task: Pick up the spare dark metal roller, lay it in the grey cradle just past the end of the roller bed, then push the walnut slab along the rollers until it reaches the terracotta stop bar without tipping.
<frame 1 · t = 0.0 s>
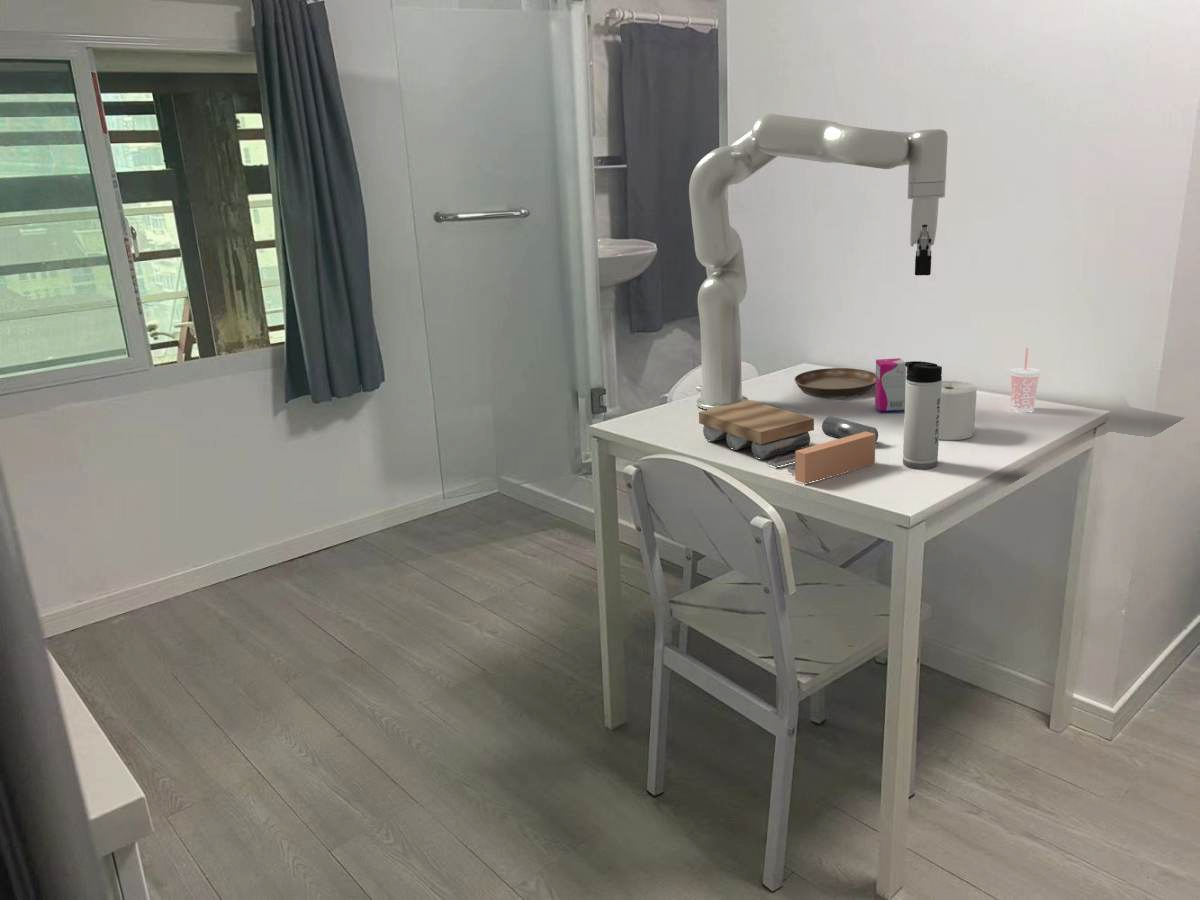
hand: (922, 272, 201), 31 cm above the table, tool pointing down, fingers open, 9 cm apart
rear roller: (730, 426, 199), point 2 cm above the table, hinge at 0.0°, touching slab
middle roller: (755, 434, 193), point 2 cm above the table, hinge at 0.0°, touching slab
slab: (755, 426, 192), point 4 cm above the table, touching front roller, middle roller, rear roller
toilet tissue: (943, 434, 193), on the table
stop bar: (835, 472, 174), on the table
supplement box: (889, 410, 212), on the table
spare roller: (849, 440, 193), on the table
cradle: (808, 463, 180), on the table
plant saucer: (835, 390, 233), on the table
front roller: (781, 443, 186), point 2 cm above the table, hinge at 0.0°, touching slab
beverage cup: (1022, 410, 205), on the table
travel mug: (919, 465, 176), on the table
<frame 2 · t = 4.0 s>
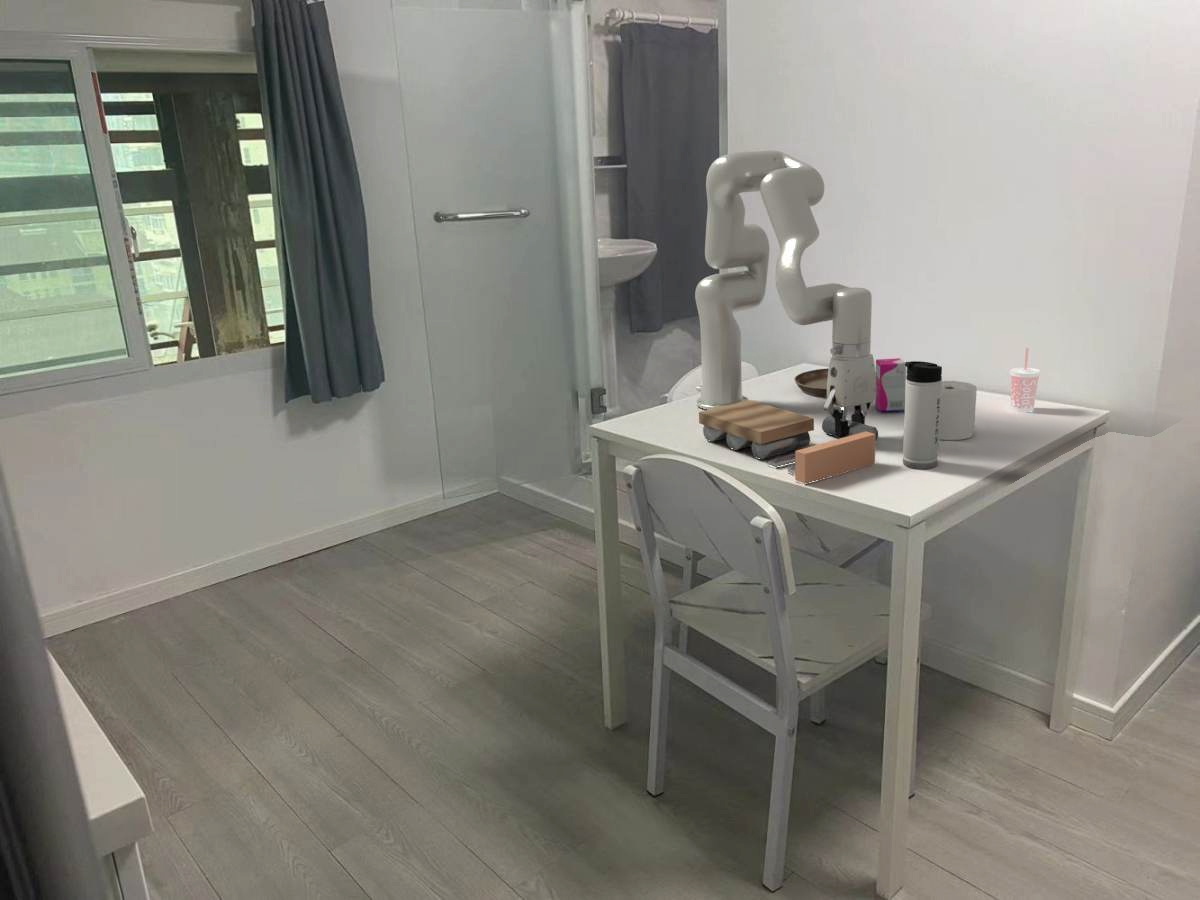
hand: (849, 434, 193), 1 cm above the table, tool pointing down, fingers closed on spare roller, 4 cm apart
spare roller: (849, 439, 193), on the table, touching gripper
everything else where it was.
when the fingers open (2 cm above the table, at t = 9.3 s): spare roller stays where it is, resting on cradle.
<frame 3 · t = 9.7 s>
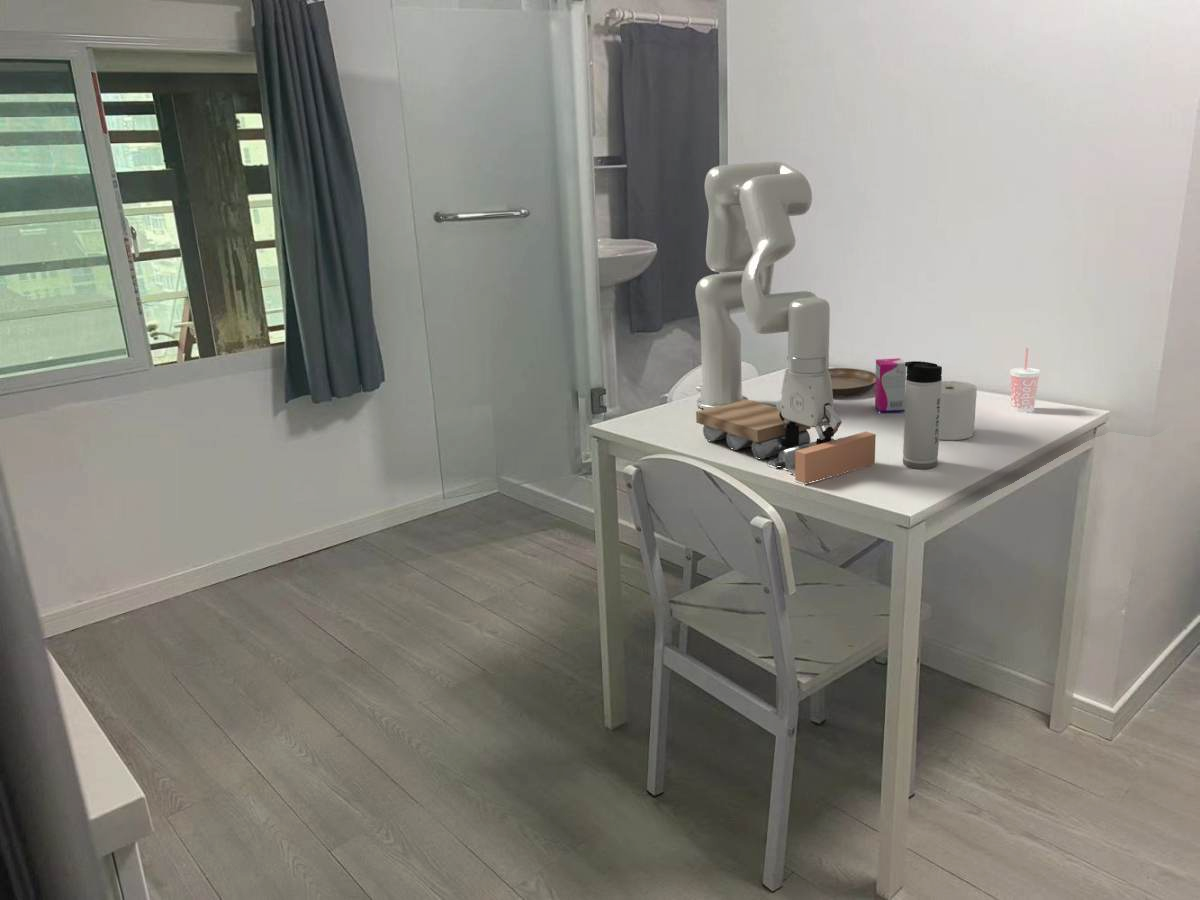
hand: (807, 451, 180), 2 cm above the table, tool pointing down, fingers open, 8 cm apart
rear roller: (730, 426, 199), point 2 cm above the table, hinge at 0.8°, touching slab
middle roller: (755, 434, 193), point 2 cm above the table, hinge at 0.7°, touching slab
slab: (752, 425, 193), point 4 cm above the table, touching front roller, gripper, middle roller, rear roller
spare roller: (808, 463, 180), on the table, tilted 6°, touching cradle
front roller: (781, 443, 186), point 2 cm above the table, hinge at 0.7°, touching slab
everything else where it was.
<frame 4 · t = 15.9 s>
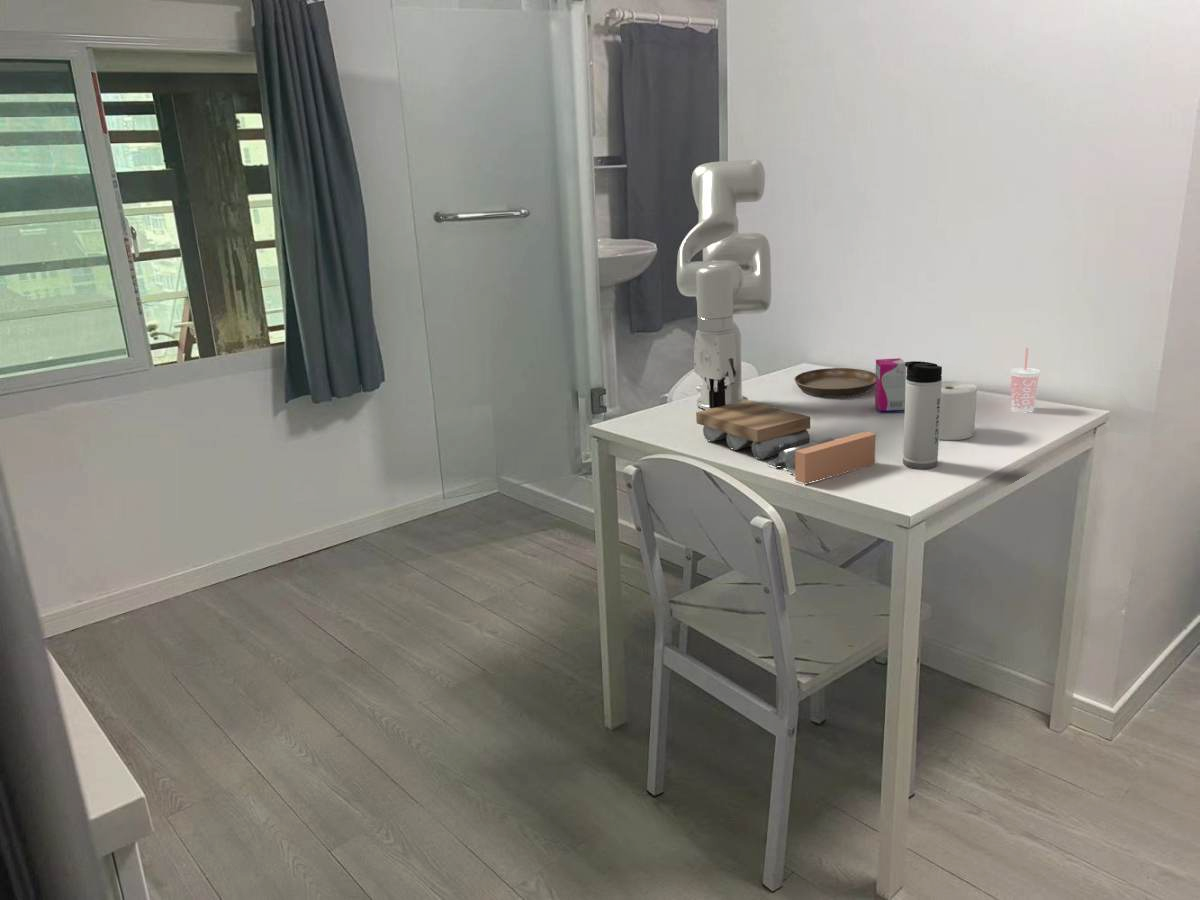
hand: (717, 407, 202), 6 cm above the table, tool pointing down, fingers closed
rear roller: (730, 426, 199), point 2 cm above the table, hinge at -0.1°, touching slab
middle roller: (755, 434, 193), point 2 cm above the table, hinge at 0.4°, touching slab
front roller: (781, 443, 186), point 2 cm above the table, hinge at 1.0°, touching slab
everything else where it was.
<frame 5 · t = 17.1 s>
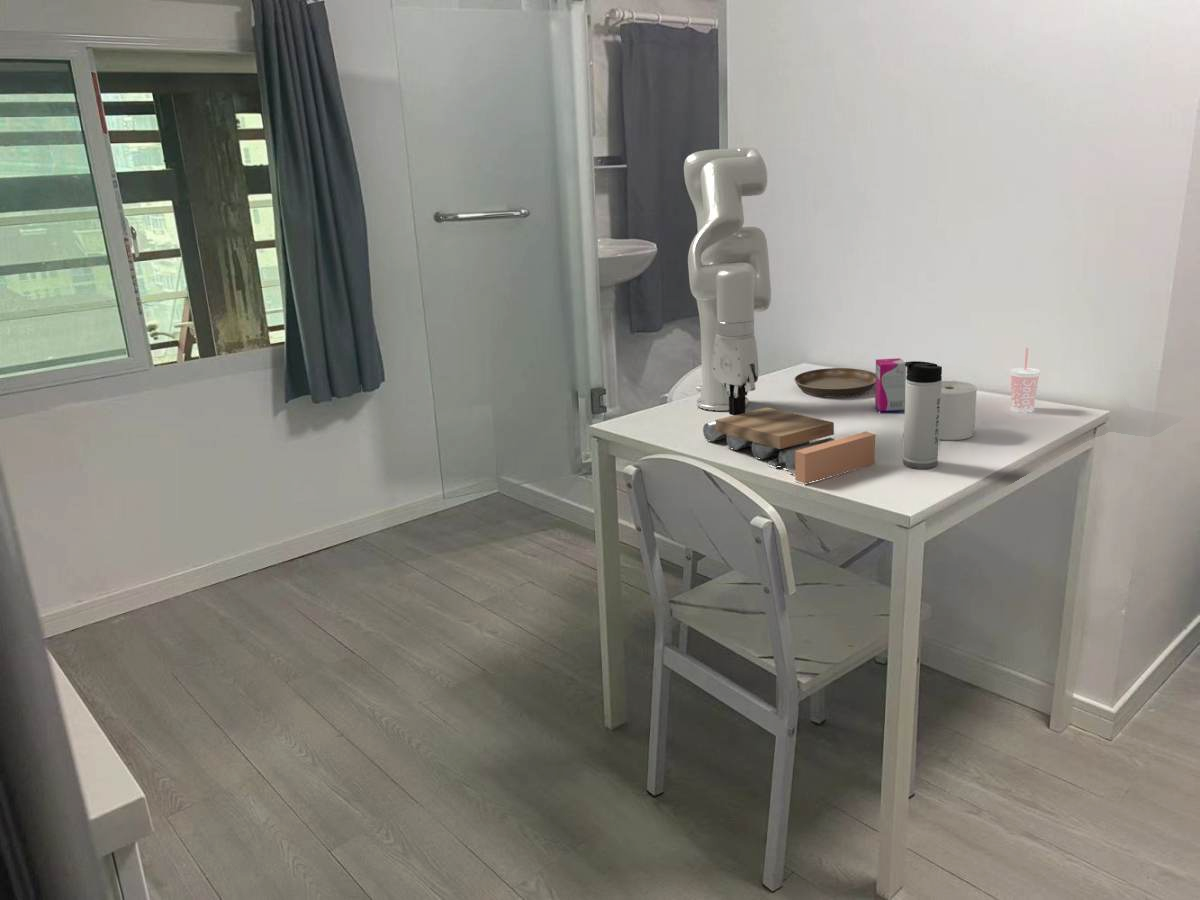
hand: (737, 413, 196), 6 cm above the table, tool pointing down, fingers closed
rear roller: (730, 426, 199), point 2 cm above the table, hinge at -0.1°
slab: (773, 432, 188), point 4 cm above the table, touching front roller, gripper, middle roller
everything else where it was.
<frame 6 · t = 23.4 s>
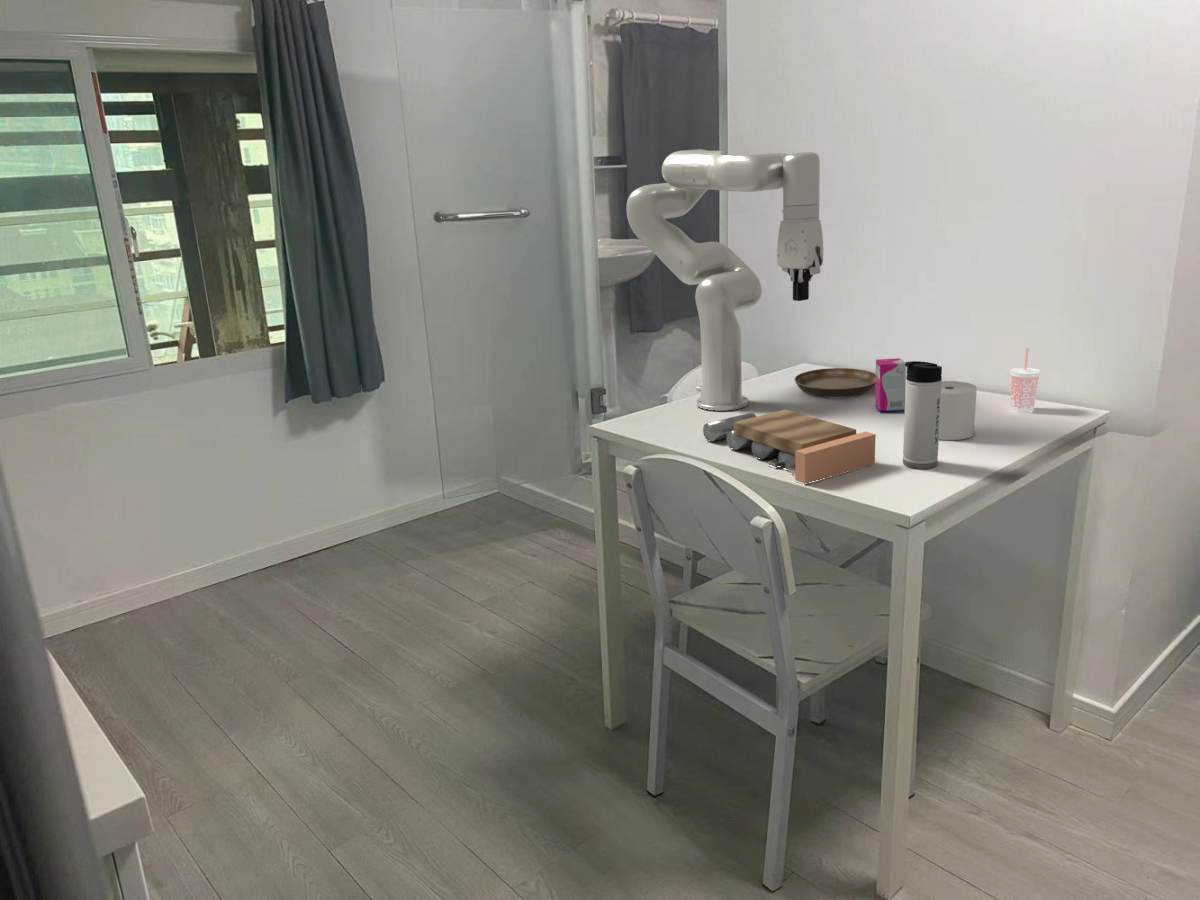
hand: (800, 299, 201), 27 cm above the table, tool pointing down, fingers closed
middle roller: (755, 434, 193), point 2 cm above the table, hinge at 17.0°, touching slab
slab: (793, 437, 183), point 4 cm above the table, touching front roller, middle roller, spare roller
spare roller: (806, 462, 180), on the table, tilted 15°, touching cradle, slab
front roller: (781, 443, 186), point 2 cm above the table, hinge at 13.9°, touching slab
everything else where it was.
at the end: slab inside the target area (0.8 cm from its centre), point 3.9 cm above the table; slab tilted 0°; slab touching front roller, middle roller, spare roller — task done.
